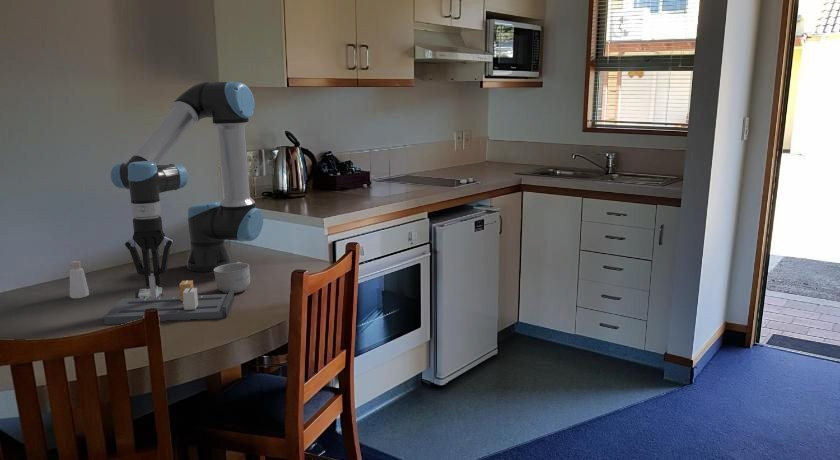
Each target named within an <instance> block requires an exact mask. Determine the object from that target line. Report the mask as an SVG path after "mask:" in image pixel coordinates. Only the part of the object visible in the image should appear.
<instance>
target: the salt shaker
mask: <svg viewBox="0 0 840 460" xmlns="http://www.w3.org/2000/svg"><path fill="white" fill-rule="evenodd" d="M81 261H82V260H81ZM81 261H80V260H73V261H70V267H71V269H70V270H69V298H71V299H82V298H87V297H89V295H90V291H89V287H88V286H89V285H88V282H87V277H86V274H85V270H84V268H82V264H81V263H82V262H81Z"/></svg>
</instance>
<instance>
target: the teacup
mask: <svg viewBox="0 0 840 460" xmlns="http://www.w3.org/2000/svg"><path fill="white" fill-rule="evenodd" d="M250 271H251V270H250V264H249V263H245V262H241V261H237V262H234V263H233V262H231V264H225V265H221V266H218V267H216V268H215V269H214V271H213V272H214V279H215V284H216V287H217V289H218V290H219V291H221V292H222V293H223V294H227V293H229V291H230V290H234V294H238V293H241V292H244V291H245V290H246V289H247V288H248V286H249V285H250V284H251V272H250Z"/></svg>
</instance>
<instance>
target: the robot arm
mask: <svg viewBox="0 0 840 460" xmlns="http://www.w3.org/2000/svg"><path fill="white" fill-rule="evenodd" d="M255 102H256V101H255V98H254V95H253V92H252V91H251V89H250V88H249V87H248V86H247V84H245V83H242V82H238V81H237V82H236V81H232V80H231V81H219V82H218V81H214V82H213V81H212V82H210V81H206V82H204V81H202V82H200V83H196V84H195V85H192V86H191V87H189V88H188V89H186V90H185V91H184V92H182V93H181V94H180V95H179V96H178V97H177V98H176V99H175V100H173V102H172V104H171V105H170V110H169V113H167V115H165V117H164V118H163V119H162V121H160V123H159V124H158V125H157V126H156V127H155V129H154V130H153V131H152V132H151V134H149V136H148V137H147V138H146V139H145V141H144V142H143V143H142V144H141V145H140V147H138V149H137V150H136V151H135V153H133V155H131V157H130V159H129V160H128V161H126V162H125V163H124V162H122V163H121V162H120V163H118V164H114V166H113V167H112V169H111V171H110V179H111V182H112V184H113V186H114V187H117V188H119V189H124V190H129V196H130V205H131V206H130V207H131V216H132V217H133V219H132V226H133V235H132V238H131V239H130V240H127V241H126V242H125V243H124V246H125V247H126V248H127V249H128V251H129V253H130V256H131V259H132V262H133V264H134V267H135V269H136V272H137V274H138V275H143V276H144V278H145V286H146V287H149V288H150V294H151V298H157V296H158V287H160V286H161V284H162V281H161V275H162V274H164V273H165V272H166V271H167V267H168V263H169V257H170V252H171V251H170V250H171V247H172V245H173V243H174V239H173V238H168V237H166V235H165V233H164V231H163V221H162V217H161V214H162V208H161V201H160V200H161V199H160V193H166V192H171V191H177V190H179V189H182V188H184V187H185V186H187V184H188V182H189V174H188V170H187V169H186V167H185V166H183V165H182V164H179V163H169V164H162V162H163V160H164V159H165V158H166V157H167V155H169V153H170V152H171V150H172V149H173V148H174V147H175V146H176V145H177V144H178V142H179V141H180V139H181V138H182V137H183V135H184V134H185V133H186V132H187V130H189V129H190V127H191V126H194V125H196V124H197V123H198V122H199V121H200V120H203V119H205V118H212V125H213V126H215V127H216V128H217V130H218V141H219V142H218V143H219V151H220V152H219V153H220V155H219V156H220V163H221V164H220V165H221V175H222V185H223V200H222V201H208V202H203V203H202V202H201V203H198V204H193V205H191V206H189V207H188V210H187V212H188V213H187V214H188V215H187V222H188V231H189V240H190V248H189V252H188V257H187V261H186V267H187V270H189V271H191V272H198V273H200V272H203V273H205V272H206V273H207V272H214V269H215V268H216V267H218V266H221V265H225V264H231V263H232V259H231V256H230V253H229V252H228V249H227V246H226V243H225V240H226V241H236V242H237V241H238V242H252V241H254V240H256V239H257V238H258V237H259V236H260V234H261V232H262V229H263V226H264V214H263V212H262V210H261V209H259V208H258V207H256V201H255V199H253V198H252V197H251V192H250V179H249V168H248V166H249V165H248V155H247V143H246V142H247V141H246V129H245V128H246V126H247V125H248V124H250V122H249V118H251V117H252V116H253V115H254V113H255V112H254V111H255V107H256V106H255V105H256V104H255ZM162 243H163V246H164V247H163V253H162V258H161V264H160V254H159V247H160V245H161V244H162ZM136 244H137V245H138V246H139V248H140V249H141V254H142V261H141V257H140V254H139V252H138V250H137V249H138V248H137V247H136V246H137V245H136ZM150 252H151V257H152V268H153V273H152V270H151V269H152V268H151V260H150V259H151V258H150Z"/></svg>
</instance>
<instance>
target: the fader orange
mask: <svg viewBox="0 0 840 460" xmlns="http://www.w3.org/2000/svg"><path fill="white" fill-rule="evenodd" d="M178 286H179V296H180V298H181V301H183V292H184V290H185V289H186V288H194V280H193V279H192V280H191V279H190V280H187V279H186V280H181V282H179V285H178Z"/></svg>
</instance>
